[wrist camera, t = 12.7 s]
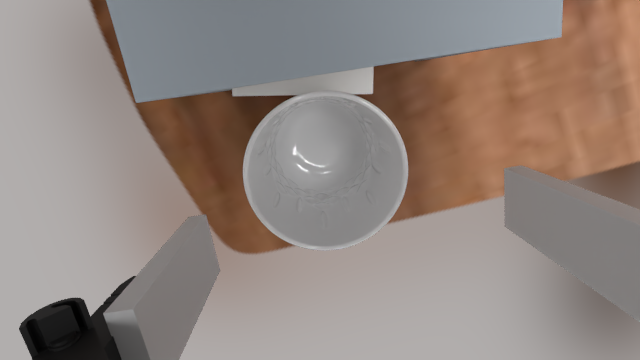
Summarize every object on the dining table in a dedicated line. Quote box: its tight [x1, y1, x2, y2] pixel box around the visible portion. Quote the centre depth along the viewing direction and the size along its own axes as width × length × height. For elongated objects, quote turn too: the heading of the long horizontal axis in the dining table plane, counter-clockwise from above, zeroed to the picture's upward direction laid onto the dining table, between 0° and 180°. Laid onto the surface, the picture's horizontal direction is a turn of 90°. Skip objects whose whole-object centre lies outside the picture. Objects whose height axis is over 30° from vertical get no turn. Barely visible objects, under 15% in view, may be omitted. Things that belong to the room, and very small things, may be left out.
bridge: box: [106, 0, 563, 103], centre depth 18 cm, size 6×15×13 cm, turn 98°
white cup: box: [243, 90, 408, 251], centre depth 21 cm, size 8×8×10 cm
